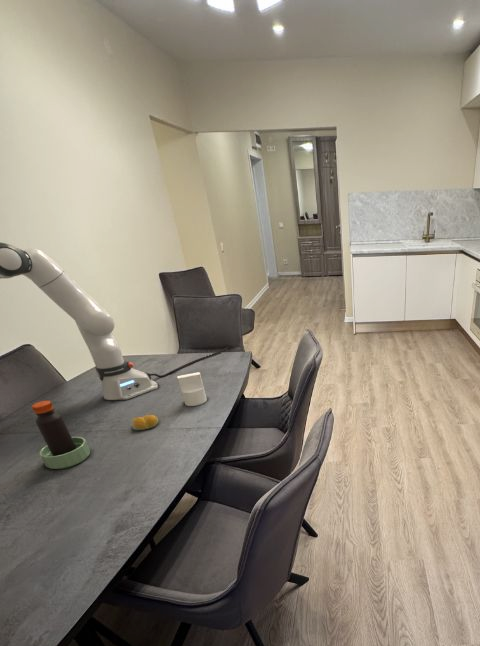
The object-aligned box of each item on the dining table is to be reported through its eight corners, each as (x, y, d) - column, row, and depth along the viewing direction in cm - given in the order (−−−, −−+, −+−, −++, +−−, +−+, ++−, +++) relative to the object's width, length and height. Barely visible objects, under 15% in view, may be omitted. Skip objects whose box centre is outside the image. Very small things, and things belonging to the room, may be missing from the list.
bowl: (86, 444, 139) (80, 432, 136) (95, 458, 131) (89, 445, 128) (43, 459, 131) (36, 447, 129) (50, 475, 123) (43, 461, 121)
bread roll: (160, 426, 149) (157, 416, 147) (135, 433, 145) (131, 423, 143) (157, 418, 155) (154, 409, 153) (132, 424, 151) (129, 415, 149)
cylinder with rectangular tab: (205, 395, 173) (199, 369, 167) (208, 402, 166) (201, 376, 160) (184, 399, 170) (176, 373, 164) (185, 407, 162) (177, 380, 156)
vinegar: (60, 454, 133) (34, 401, 123) (82, 450, 134) (57, 398, 124) (52, 465, 127) (23, 410, 117) (75, 461, 128) (48, 407, 118)
